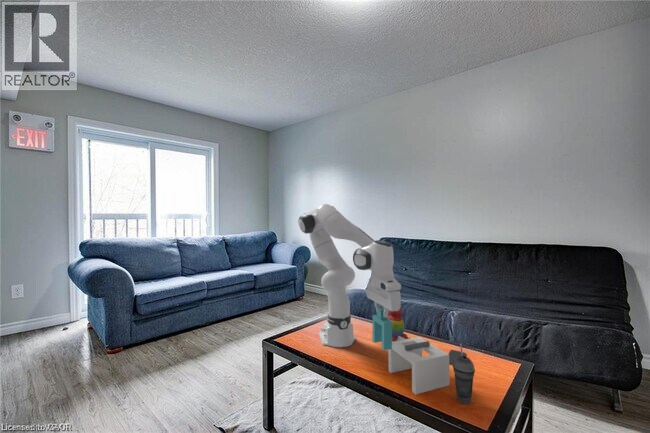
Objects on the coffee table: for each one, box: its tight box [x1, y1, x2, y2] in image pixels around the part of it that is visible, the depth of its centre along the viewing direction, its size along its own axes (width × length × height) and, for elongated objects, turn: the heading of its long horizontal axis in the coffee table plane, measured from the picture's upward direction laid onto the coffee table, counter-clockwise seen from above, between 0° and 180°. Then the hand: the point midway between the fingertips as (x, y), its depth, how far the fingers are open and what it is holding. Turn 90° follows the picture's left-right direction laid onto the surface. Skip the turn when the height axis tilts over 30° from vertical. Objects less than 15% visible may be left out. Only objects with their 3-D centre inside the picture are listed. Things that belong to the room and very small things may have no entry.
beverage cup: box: [452, 342, 476, 405], centre depth 105 cm, size 7×7×20 cm
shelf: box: [387, 336, 450, 395], centre depth 120 cm, size 18×16×14 cm
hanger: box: [371, 306, 393, 351], centre depth 119 cm, size 9×4×15 cm, turn 21°
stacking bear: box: [387, 306, 409, 342], centre depth 159 cm, size 11×10×18 cm
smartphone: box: [448, 349, 467, 366], centre depth 136 cm, size 7×1×15 cm
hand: (381, 315), depth 119 cm, fingers closed on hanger, 3 cm apart
